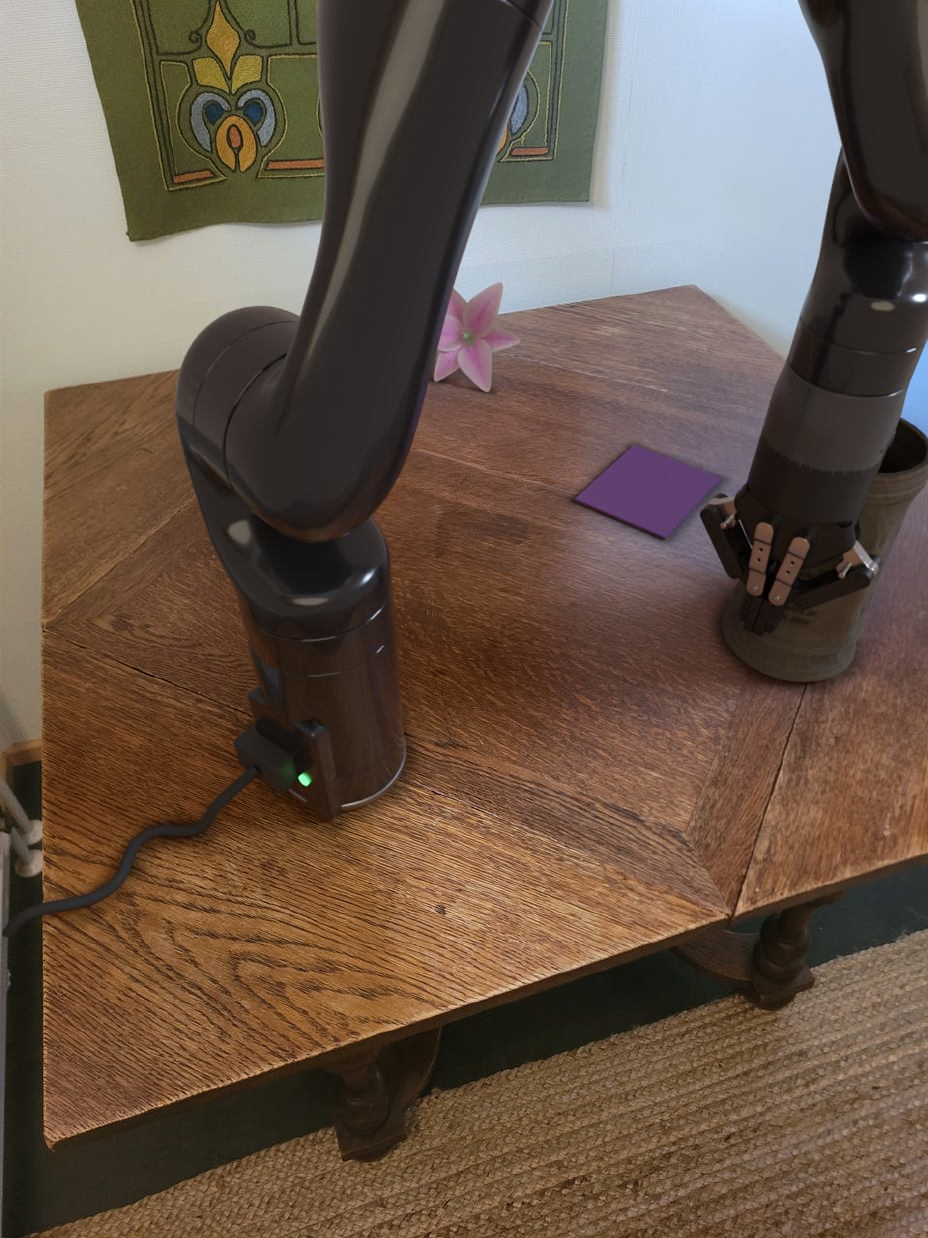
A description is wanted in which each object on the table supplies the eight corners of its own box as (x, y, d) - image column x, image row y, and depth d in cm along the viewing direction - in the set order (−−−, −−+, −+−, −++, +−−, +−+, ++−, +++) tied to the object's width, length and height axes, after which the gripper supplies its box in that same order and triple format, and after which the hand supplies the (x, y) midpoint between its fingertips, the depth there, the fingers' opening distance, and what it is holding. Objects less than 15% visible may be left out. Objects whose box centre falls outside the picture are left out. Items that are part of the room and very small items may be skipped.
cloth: (664, 539, 82) (665, 537, 82) (574, 500, 87) (574, 498, 86) (720, 479, 89) (720, 477, 89) (633, 446, 94) (634, 444, 93)
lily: (400, 367, 108) (392, 321, 98) (464, 304, 110) (461, 253, 100) (474, 425, 105) (472, 382, 96) (537, 359, 107) (541, 311, 98)
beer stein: (854, 704, 68) (955, 484, 55) (714, 674, 70) (779, 455, 57) (848, 587, 79) (931, 380, 66) (727, 564, 81) (784, 360, 68)
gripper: (702, 422, 56) (656, 617, 68) (913, 500, 50) (822, 697, 62) (751, 376, 60) (700, 567, 72) (950, 442, 54) (859, 637, 66)
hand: (757, 627), depth 67 cm, fingers closed
